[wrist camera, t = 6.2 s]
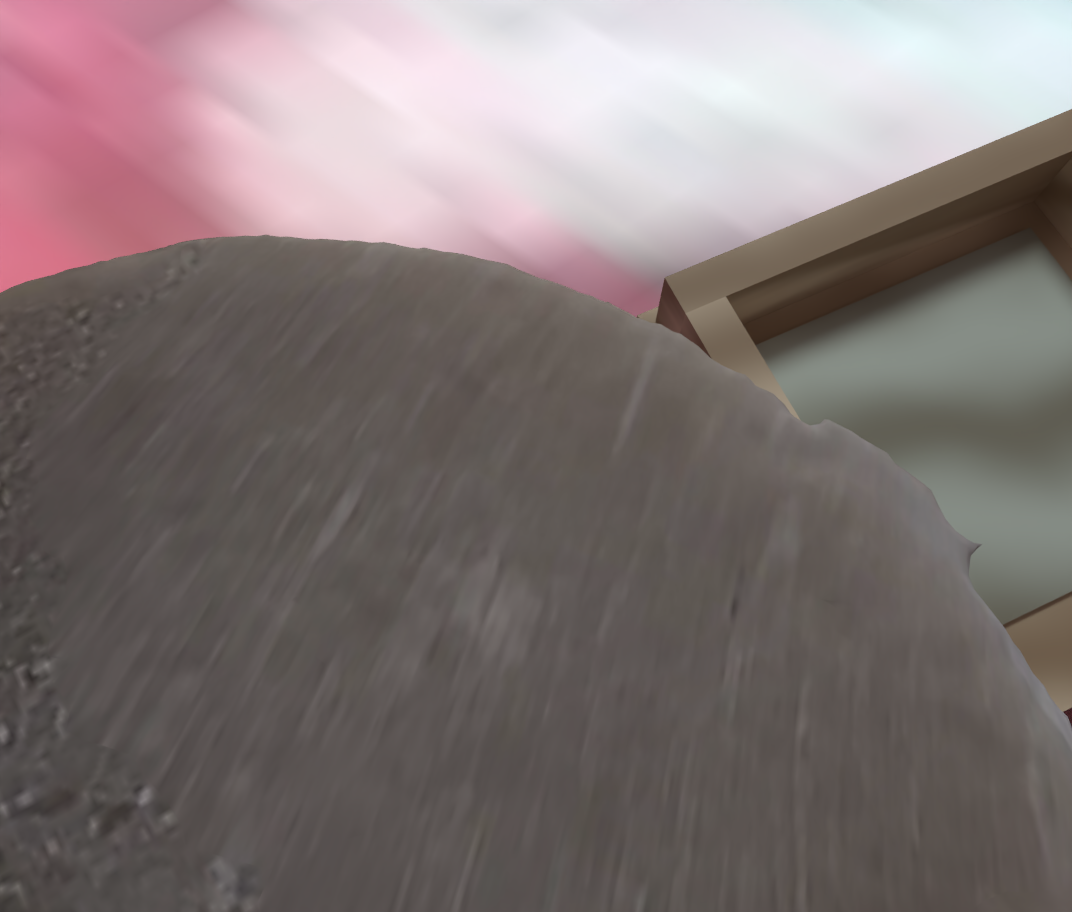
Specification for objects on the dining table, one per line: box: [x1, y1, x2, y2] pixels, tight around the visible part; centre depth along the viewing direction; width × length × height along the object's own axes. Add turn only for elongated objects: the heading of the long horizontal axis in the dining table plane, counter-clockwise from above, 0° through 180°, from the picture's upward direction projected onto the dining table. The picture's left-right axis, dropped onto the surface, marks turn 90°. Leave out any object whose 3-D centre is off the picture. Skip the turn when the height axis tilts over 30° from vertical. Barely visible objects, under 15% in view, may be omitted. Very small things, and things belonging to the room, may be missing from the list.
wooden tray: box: [637, 109, 1072, 712], centre depth 28 cm, size 18×18×5 cm
